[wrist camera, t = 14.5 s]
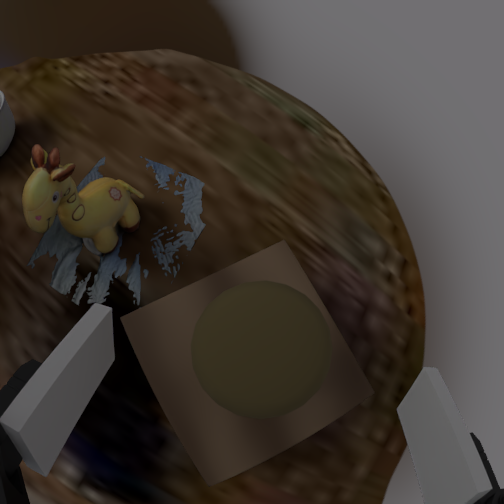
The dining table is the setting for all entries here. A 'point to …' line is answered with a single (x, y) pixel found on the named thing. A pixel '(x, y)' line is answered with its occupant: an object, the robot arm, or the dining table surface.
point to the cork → (261, 349)
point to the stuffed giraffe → (96, 221)
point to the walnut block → (202, 405)
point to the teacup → (5, 125)
